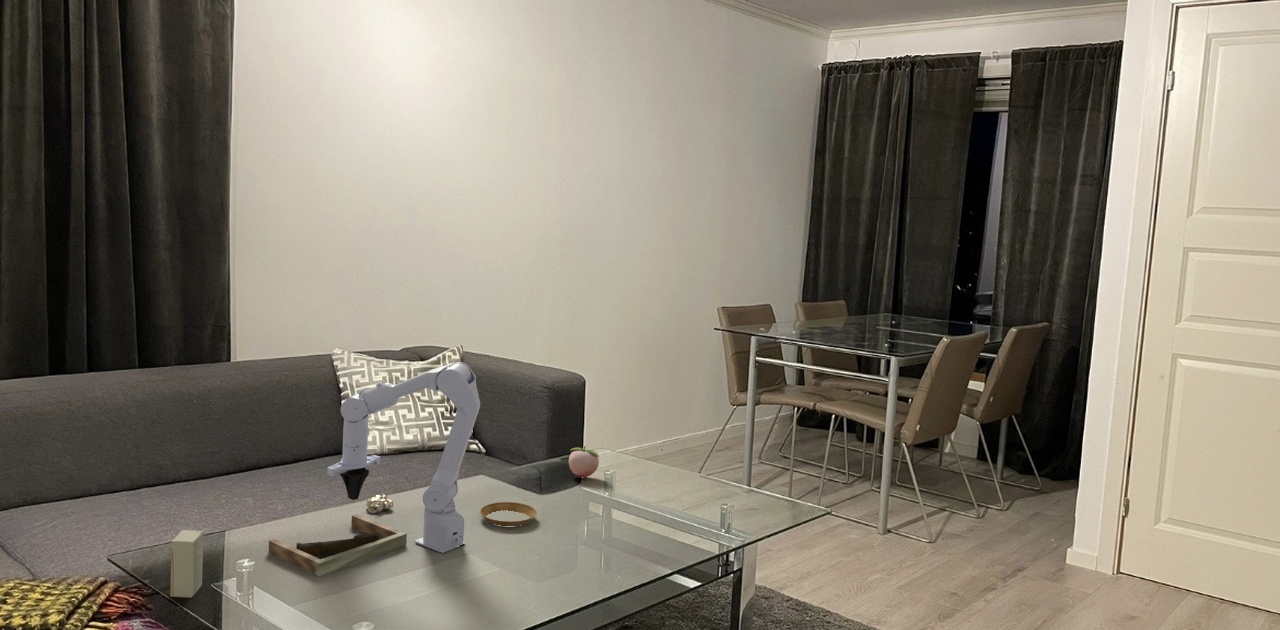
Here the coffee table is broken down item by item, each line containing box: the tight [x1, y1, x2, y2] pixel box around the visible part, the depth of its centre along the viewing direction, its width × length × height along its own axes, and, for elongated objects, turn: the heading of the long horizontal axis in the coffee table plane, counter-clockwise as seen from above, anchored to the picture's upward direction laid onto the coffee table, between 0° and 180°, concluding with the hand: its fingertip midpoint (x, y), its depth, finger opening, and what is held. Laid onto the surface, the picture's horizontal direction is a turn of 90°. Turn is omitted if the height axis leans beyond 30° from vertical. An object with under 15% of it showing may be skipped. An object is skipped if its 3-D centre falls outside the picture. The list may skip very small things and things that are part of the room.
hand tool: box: [295, 533, 380, 558], centre depth 227 cm, size 19×4×5 cm, turn 114°
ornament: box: [366, 492, 394, 514], centre depth 258 cm, size 8×7×4 cm
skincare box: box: [170, 529, 204, 599], centre depth 202 cm, size 6×4×12 cm
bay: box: [268, 513, 408, 577], centre depth 230 cm, size 18×25×3 cm
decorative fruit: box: [568, 445, 600, 478], centre depth 296 cm, size 9×8×10 cm
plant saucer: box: [479, 501, 538, 527], centre depth 258 cm, size 15×15×3 cm
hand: (353, 498), depth 239 cm, fingers closed
